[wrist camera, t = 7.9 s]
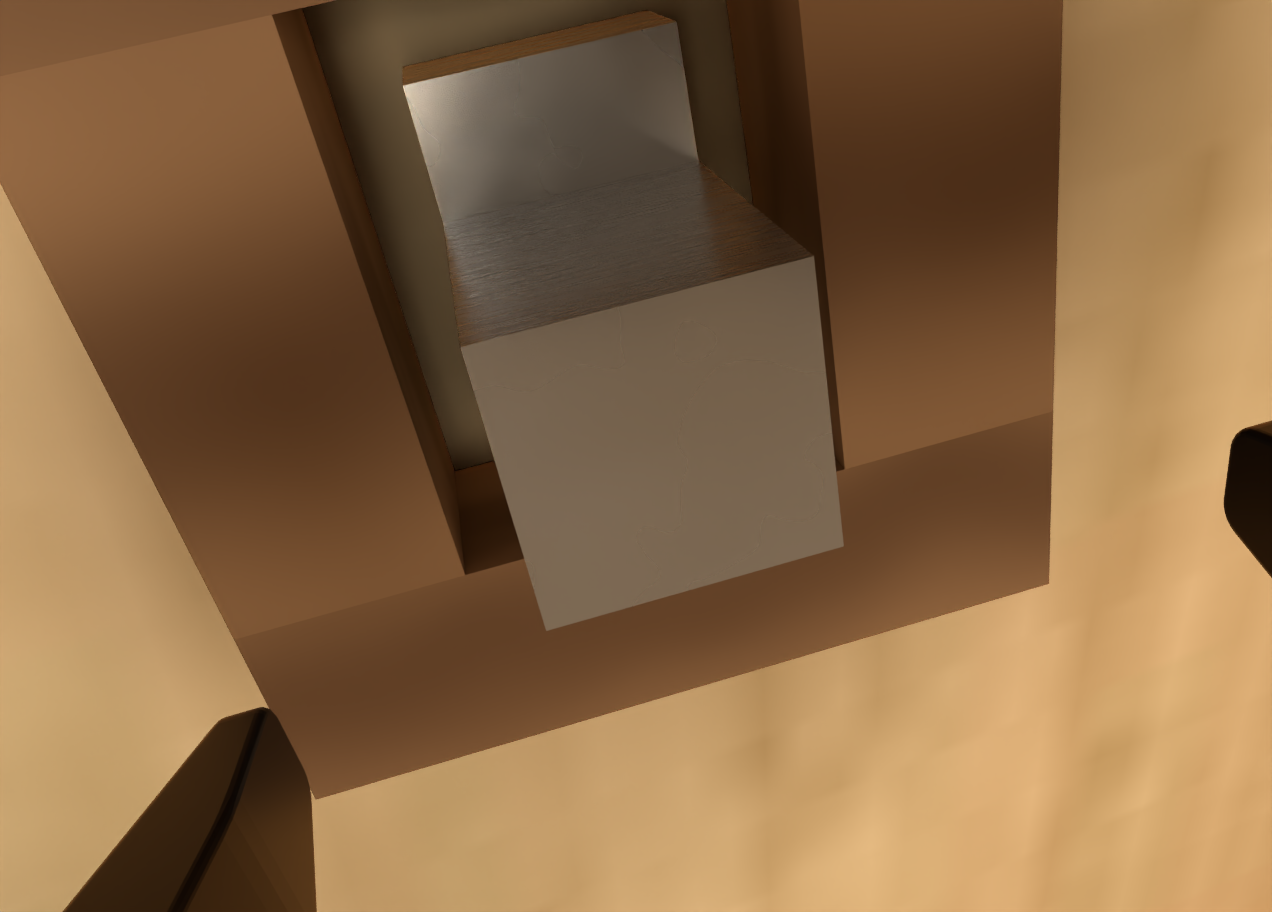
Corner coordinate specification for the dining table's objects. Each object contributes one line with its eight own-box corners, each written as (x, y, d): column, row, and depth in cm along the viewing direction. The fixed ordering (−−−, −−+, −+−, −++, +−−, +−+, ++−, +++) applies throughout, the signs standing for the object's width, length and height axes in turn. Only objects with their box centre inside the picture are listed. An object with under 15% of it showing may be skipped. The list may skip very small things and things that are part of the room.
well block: (960, 491, 22) (1048, 583, 19) (328, 671, 21) (315, 799, 18) (930, -460, 14) (1076, -562, 11) (-99, -257, 13) (-252, -309, 10)
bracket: (703, 346, 19) (844, 546, 13) (499, 400, 19) (546, 630, 13) (647, 9, 16) (794, 68, 10) (402, 66, 16) (404, 162, 10)
